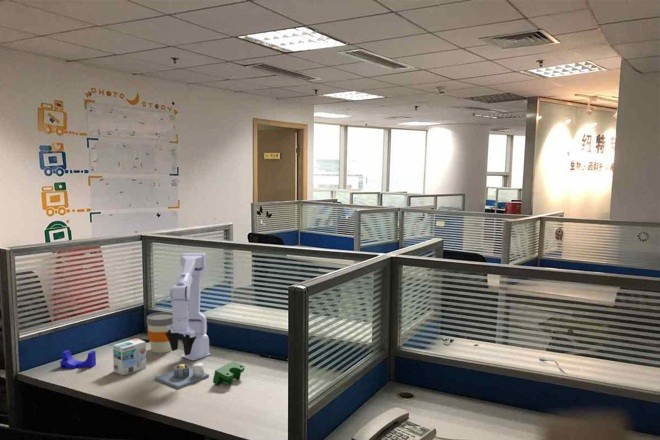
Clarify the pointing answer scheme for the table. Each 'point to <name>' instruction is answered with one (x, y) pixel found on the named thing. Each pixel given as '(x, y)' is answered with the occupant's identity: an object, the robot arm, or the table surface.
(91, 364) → the cable clip
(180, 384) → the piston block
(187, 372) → the ring
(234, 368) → the clamp
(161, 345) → the reusable coffee cup
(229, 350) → the table surface
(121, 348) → the light bulb box
